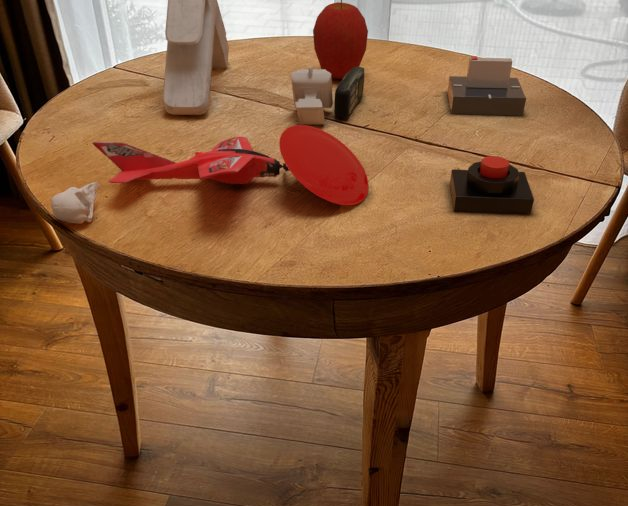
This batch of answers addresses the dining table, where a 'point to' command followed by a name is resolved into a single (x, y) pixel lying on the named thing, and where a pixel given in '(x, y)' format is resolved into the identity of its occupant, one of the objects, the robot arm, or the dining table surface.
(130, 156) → the toy airplane
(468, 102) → the base
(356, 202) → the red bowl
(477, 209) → the button block
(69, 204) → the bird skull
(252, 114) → the dining table surface
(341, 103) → the mobile phone
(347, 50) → the apple
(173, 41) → the leaning slabs
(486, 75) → the tap handle
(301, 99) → the white blocky device
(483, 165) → the button
